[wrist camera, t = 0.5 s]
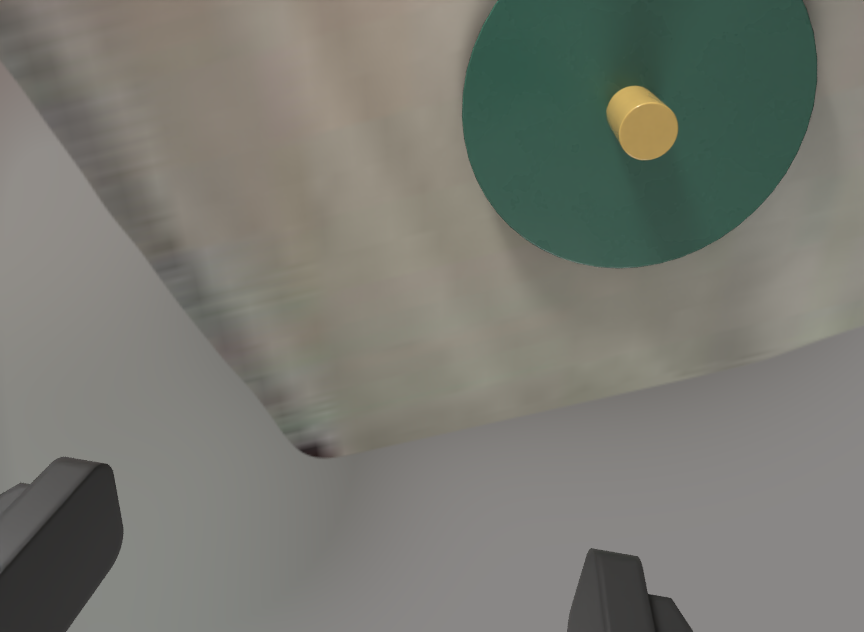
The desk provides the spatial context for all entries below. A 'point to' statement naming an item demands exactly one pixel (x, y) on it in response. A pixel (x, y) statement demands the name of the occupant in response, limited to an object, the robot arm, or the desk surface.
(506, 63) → the lid
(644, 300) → the desk surface
